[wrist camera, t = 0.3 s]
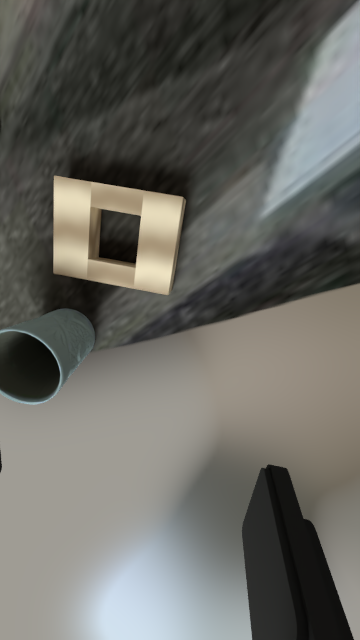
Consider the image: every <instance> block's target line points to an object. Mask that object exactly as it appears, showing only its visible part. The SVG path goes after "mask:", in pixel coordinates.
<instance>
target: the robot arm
mask: <svg viewBox="0 0 360 640" xmlns="http://www.w3.org/2000/svg"><path fill="white" fill-rule="evenodd" d="M1 468H2V464H1V452H0V472H1ZM242 538H243V548H244V558H245V569H246V579H247V589H248V599H249V610H250V620H251V630H252V640H354V639H353V636H352V633H351V630H350V627H349V625H348V621H347V619H346V616H345V613H344V610H343V607H342V604H341V602H340V599H339V595H338V593H337V590H336V587H335V584H334V581H333V578H332V576H331V573H330V570H329V567H328V564H327V561H326V558H325V555H324V552H323V549H322V547H321V544H320V541H319V538H318V535H317V532H316V530H315V527H314V525H313V524H312V523H311V521H309V520H307V519H303V516H302V513H301V510H300V507H299V503H298V500H297V497H296V494H295V491H294V488H293V485H292V481H291V478H290V475H289V473H288V470H287V469H286V468H283V467H279V466H274V465H267V467H266V469H265V468H261V470H260V473H259V476H258V479H257V482H256V485H255V489H254V491H253V494H252V497H251V500H250V503H249V506H248V510H247V513H246V516H245V519H244V522H243V527H242Z"/></svg>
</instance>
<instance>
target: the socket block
mask: <svg viewBox="0 0 360 640" xmlns="http://www.w3.org/2000/svg"><path fill="white" fill-rule="evenodd" d="M185 204H186V200H185V199H184V197H180V196H174V195H168V194H162V193H156V192H150V191H144V190H138V189H132V188H125V187H119V186H113V185H107V184H101V183H95V182H89V181H83V180H77V179H71V178H65V177H59V176H54V262H53V273H54V274H59V275H65V276H70V277H75V278H81V279H86V280H91V281H96V282H102V283H107V284H112V285H118V286H123V287H128V288H133V289H139V290H144V291H149V292H155V293H160V294H165V295H169V293H170V292H171V291H172V287H173V281H174V274H175V268H176V261H177V255H178V249H179V242H180V236H181V229H182V223H183V217H184V210H185ZM102 209H105V210H111V211H117V212H123V213H129V214H135V215H140V216H141V223H140V232H139V242H138V251H137V260H136V264H134V263H129V262H123V261H118V260H112V259H107V258H101V257H99V244H100V227H101V211H102Z"/></svg>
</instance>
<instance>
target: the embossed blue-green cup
mask: <svg viewBox="0 0 360 640" xmlns="http://www.w3.org/2000/svg"><path fill="white" fill-rule="evenodd" d="M94 342H95V331H94V328H93V326H92V324H91V322H90V321H89V320H88V318H87V317H86V316H84V315H83V314H82V313H80V312H78V311H76V310H73V309H68V308H64V309H58V310H55V311H52V312H49V313H47V314H45V315H44V316H40V317H39V318H36V319H33V320H29V321H25V322H22V323H20V324H17V325H14V326H11V327H8V328H5V329H2V330H0V393H1V394H2V395H3V396H5V397H7V398H9V399H11V400H13V401H16V402H19V403H25V404H40V403H43V402H46V401H48V400H50V399H51V398H52V397H54V396H55V395H56V394H57V393H58V391H59V390H60V389H61V387H62V386H63V385H64V383H65V382H66V381H67V379H68V377H69V376H70V375H71V374H72V373H73V372H74V371H75V369H76V368H77V367H78V365H79V364H80V363H81V362H82V361H83V359H84V358H85V357H86V356H87V355H88V354H89V352H90V351H91V350H92V348H93V346H94Z"/></svg>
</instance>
